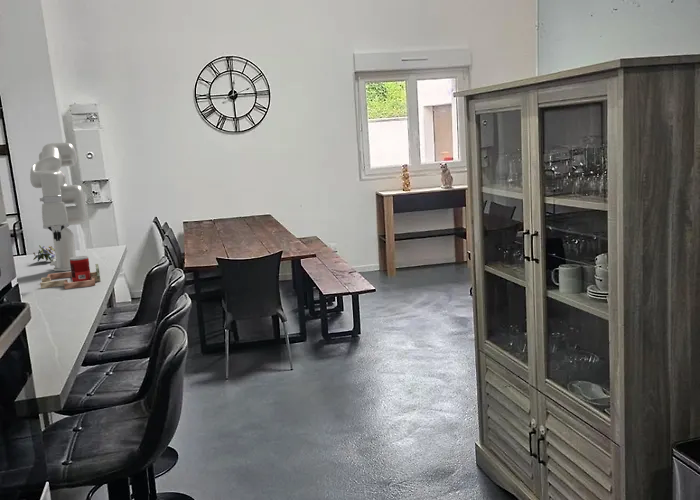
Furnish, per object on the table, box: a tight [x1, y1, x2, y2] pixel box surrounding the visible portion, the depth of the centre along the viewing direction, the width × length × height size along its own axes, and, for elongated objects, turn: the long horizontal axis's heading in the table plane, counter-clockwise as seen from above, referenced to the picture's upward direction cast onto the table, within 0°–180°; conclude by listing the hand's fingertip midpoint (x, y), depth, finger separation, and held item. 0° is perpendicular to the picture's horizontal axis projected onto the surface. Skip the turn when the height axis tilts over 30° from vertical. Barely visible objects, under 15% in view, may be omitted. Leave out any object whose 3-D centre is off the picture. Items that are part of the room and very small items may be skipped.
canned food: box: [70, 255, 92, 282], centre depth 295 cm, size 8×8×11 cm
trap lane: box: [39, 263, 101, 290], centre depth 293 cm, size 25×29×6 cm
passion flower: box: [32, 245, 56, 262], centre depth 350 cm, size 11×11×12 cm
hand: (58, 240), depth 290 cm, fingers closed
